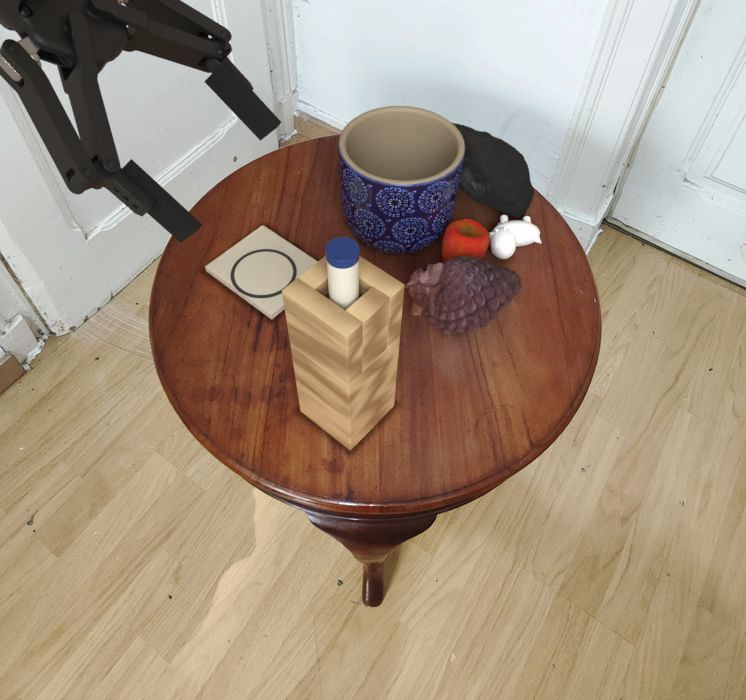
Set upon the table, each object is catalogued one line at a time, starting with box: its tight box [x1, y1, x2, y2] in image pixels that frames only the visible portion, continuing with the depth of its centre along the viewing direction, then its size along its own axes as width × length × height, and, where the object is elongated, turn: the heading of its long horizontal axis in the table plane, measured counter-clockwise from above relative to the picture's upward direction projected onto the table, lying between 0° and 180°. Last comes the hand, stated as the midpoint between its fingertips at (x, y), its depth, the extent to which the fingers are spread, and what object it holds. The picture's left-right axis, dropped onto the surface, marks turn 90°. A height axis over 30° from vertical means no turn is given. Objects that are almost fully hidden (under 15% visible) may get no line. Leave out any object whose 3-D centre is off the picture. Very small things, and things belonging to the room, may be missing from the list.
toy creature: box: [489, 214, 543, 260], centre depth 90 cm, size 5×8×6 cm
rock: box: [451, 122, 535, 221], centre depth 92 cm, size 15×14×7 cm
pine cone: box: [404, 256, 523, 336], centre depth 81 cm, size 18×10×10 cm
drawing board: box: [204, 224, 319, 320], centre depth 88 cm, size 11×13×1 cm
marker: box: [324, 236, 360, 311], centre depth 59 cm, size 3×3×13 cm
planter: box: [337, 105, 465, 255], centre depth 88 cm, size 16×17×15 cm
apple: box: [441, 218, 491, 263], centre depth 86 cm, size 6×6×8 cm
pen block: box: [282, 255, 405, 451], centre depth 67 cm, size 8×8×22 cm
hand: (234, 179), depth 52 cm, fingers open, 13 cm apart
